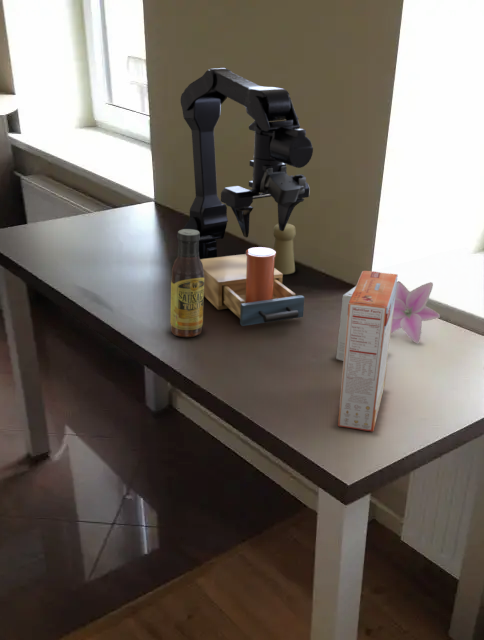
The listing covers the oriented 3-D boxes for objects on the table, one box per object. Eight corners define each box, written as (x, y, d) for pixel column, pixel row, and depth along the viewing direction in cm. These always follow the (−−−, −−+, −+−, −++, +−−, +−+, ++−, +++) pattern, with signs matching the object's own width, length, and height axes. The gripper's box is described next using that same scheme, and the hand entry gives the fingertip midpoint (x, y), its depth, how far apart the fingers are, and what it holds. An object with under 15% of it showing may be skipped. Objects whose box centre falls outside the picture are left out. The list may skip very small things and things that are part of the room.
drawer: (312, 324, 146) (313, 303, 144) (250, 334, 141) (251, 313, 139) (274, 293, 160) (275, 274, 158) (216, 301, 155) (216, 282, 153)
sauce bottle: (178, 341, 140) (176, 238, 130) (165, 329, 145) (162, 229, 135) (209, 335, 143) (210, 234, 133) (196, 323, 147) (195, 225, 138)
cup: (238, 302, 152) (239, 250, 147) (260, 296, 156) (262, 245, 150) (256, 311, 148) (258, 258, 143) (279, 305, 152) (282, 252, 146)
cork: (265, 271, 175) (267, 225, 169) (276, 264, 179) (278, 219, 174) (288, 276, 172) (291, 229, 167) (299, 268, 177) (302, 223, 172)
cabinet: (281, 301, 159) (282, 273, 156) (218, 310, 154) (218, 282, 151) (253, 278, 170) (254, 252, 167) (193, 286, 165) (193, 260, 162)
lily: (363, 327, 150) (365, 297, 142) (405, 296, 153) (409, 265, 145) (405, 363, 144) (410, 334, 136) (448, 330, 147) (455, 300, 139)
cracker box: (348, 386, 126) (361, 268, 116) (384, 391, 124) (400, 273, 114) (334, 427, 114) (347, 300, 104) (373, 433, 113) (390, 305, 102)
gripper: (252, 170, 137) (249, 252, 145) (330, 160, 146) (323, 237, 154) (220, 158, 145) (218, 236, 152) (295, 149, 154) (290, 223, 162)
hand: (263, 233), depth 155 cm, fingers open, 9 cm apart
